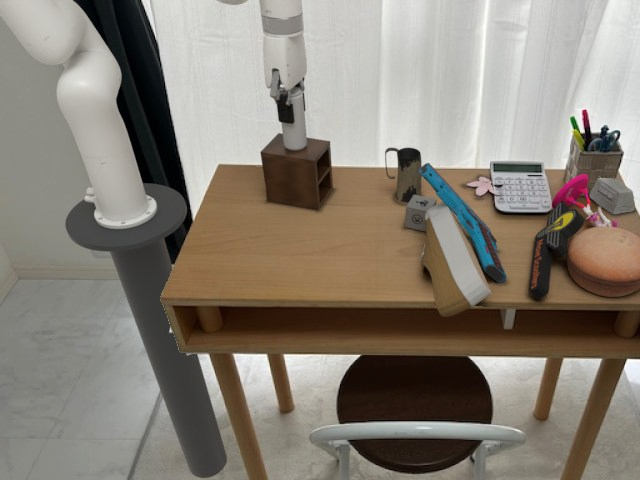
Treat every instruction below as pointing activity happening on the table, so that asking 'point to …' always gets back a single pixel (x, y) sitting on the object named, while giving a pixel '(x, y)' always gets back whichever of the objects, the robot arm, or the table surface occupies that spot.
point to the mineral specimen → (613, 195)
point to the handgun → (468, 223)
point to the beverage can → (295, 123)
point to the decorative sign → (552, 245)
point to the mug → (407, 174)
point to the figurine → (572, 193)
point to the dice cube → (418, 211)
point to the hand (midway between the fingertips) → (292, 115)
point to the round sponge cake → (605, 261)
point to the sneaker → (451, 263)
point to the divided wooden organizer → (297, 173)
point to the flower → (482, 186)
